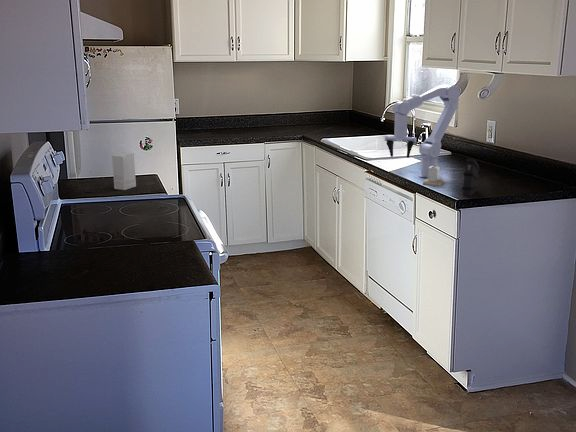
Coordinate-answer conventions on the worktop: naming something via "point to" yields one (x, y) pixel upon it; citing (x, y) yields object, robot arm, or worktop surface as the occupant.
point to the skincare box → (124, 171)
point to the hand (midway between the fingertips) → (399, 156)
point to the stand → (433, 182)
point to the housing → (433, 173)
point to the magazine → (470, 177)
